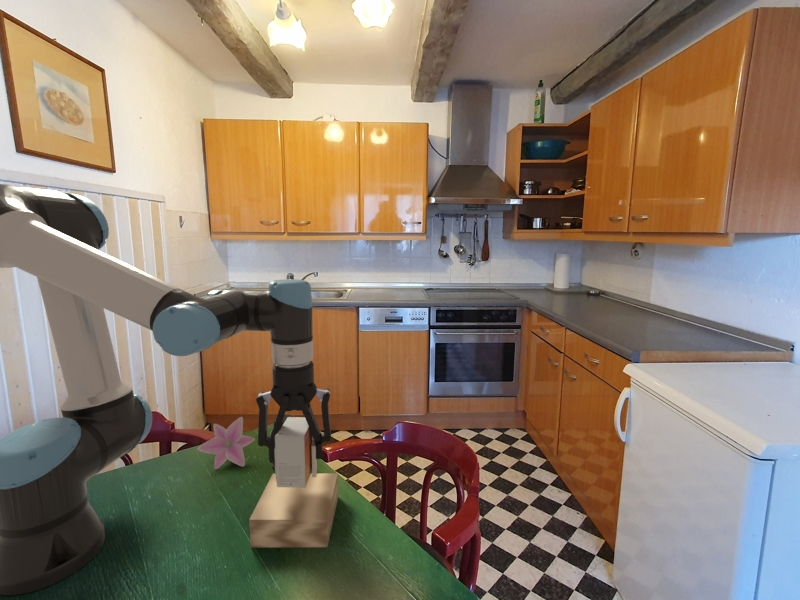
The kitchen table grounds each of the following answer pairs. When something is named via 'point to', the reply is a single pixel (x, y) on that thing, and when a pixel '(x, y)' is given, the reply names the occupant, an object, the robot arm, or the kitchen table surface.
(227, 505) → the kitchen table surface
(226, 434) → the lily
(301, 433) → the small box
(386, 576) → the kitchen table surface
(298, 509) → the riser
